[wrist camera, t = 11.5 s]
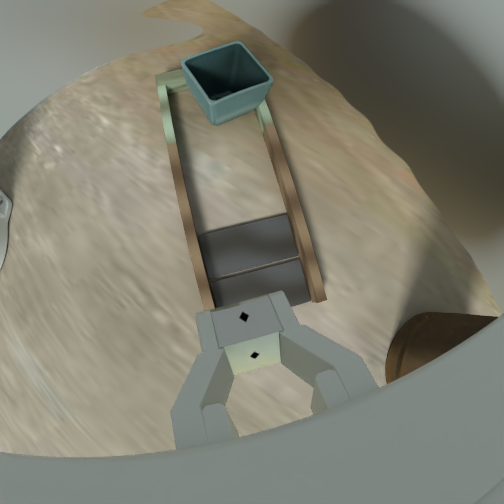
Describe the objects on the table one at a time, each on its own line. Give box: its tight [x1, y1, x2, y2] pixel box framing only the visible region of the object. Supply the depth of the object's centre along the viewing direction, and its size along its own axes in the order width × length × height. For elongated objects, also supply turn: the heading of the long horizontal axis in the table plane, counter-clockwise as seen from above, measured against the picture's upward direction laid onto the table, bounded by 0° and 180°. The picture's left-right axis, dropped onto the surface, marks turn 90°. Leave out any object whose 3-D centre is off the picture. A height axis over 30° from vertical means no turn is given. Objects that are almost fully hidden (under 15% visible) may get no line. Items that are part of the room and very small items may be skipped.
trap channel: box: [155, 69, 327, 311], centre depth 37 cm, size 36×14×4 cm, turn 15°
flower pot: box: [181, 41, 274, 126], centre depth 36 cm, size 9×9×9 cm
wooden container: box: [386, 312, 498, 384], centre depth 28 cm, size 15×15×22 cm
